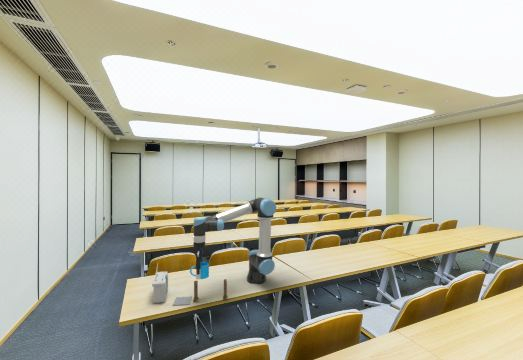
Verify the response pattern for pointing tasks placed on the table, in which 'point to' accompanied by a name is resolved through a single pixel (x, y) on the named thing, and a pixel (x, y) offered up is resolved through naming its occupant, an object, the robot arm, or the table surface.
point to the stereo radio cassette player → (160, 286)
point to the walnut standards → (197, 291)
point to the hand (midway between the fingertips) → (199, 276)
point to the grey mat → (182, 301)
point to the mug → (202, 270)
